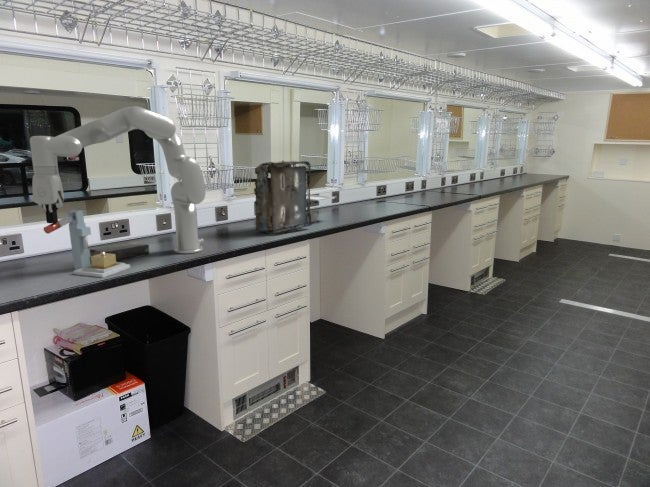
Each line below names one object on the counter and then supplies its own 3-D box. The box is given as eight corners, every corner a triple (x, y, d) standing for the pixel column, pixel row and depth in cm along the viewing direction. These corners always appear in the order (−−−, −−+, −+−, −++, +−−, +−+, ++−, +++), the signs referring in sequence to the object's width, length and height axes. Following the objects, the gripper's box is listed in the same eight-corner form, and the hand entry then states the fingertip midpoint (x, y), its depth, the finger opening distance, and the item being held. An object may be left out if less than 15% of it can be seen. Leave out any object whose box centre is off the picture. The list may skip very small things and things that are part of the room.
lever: (76, 217, 175) (74, 211, 174) (81, 217, 175) (79, 211, 173) (45, 233, 163) (42, 226, 162) (50, 233, 162) (47, 227, 161)
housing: (104, 265, 178) (102, 249, 177) (116, 266, 176) (114, 251, 175) (92, 269, 173) (90, 253, 171) (104, 270, 171) (102, 254, 169)
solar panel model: (335, 220, 280) (335, 196, 276) (318, 225, 266) (317, 199, 263) (300, 216, 296) (300, 193, 293) (283, 220, 283) (282, 196, 279)
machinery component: (264, 237, 232) (261, 163, 223) (244, 232, 245) (241, 161, 237) (312, 229, 253) (311, 161, 245) (291, 224, 267) (290, 160, 258)
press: (92, 263, 185) (85, 207, 180) (130, 267, 179) (124, 210, 174) (63, 272, 172) (55, 213, 167) (102, 277, 166) (95, 215, 161)
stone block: (149, 255, 200) (148, 243, 199) (104, 264, 186) (103, 252, 184) (134, 250, 209) (133, 239, 208) (90, 259, 194) (89, 247, 193)
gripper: (20, 171, 159) (27, 223, 163) (52, 172, 155) (59, 225, 158) (40, 170, 166) (46, 219, 170) (71, 171, 161) (76, 222, 165)
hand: (52, 222), depth 164 cm, fingers closed
